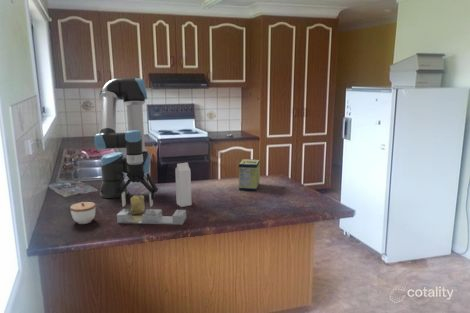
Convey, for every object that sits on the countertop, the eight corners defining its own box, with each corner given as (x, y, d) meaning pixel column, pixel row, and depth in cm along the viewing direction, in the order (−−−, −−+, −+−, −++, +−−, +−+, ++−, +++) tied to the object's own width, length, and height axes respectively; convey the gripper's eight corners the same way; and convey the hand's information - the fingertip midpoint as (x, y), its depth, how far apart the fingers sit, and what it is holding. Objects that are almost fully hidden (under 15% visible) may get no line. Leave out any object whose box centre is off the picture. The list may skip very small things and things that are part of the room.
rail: (117, 223, 173) (116, 214, 172) (123, 216, 180) (123, 208, 180) (182, 224, 170) (182, 216, 170) (186, 218, 178) (186, 209, 177)
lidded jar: (76, 217, 180) (74, 198, 178) (99, 216, 181) (97, 198, 179) (68, 226, 169) (66, 206, 167) (93, 225, 170) (91, 205, 168)
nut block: (131, 214, 184) (130, 198, 182) (134, 210, 189) (133, 195, 187) (141, 214, 183) (140, 198, 182) (144, 210, 188) (143, 195, 187)
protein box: (259, 183, 234) (259, 159, 231) (256, 191, 219) (256, 165, 216) (242, 183, 236) (242, 158, 233) (238, 190, 221) (238, 164, 218)
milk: (191, 205, 196) (190, 163, 191) (180, 207, 193) (179, 165, 188) (187, 201, 201) (186, 161, 197) (176, 203, 198) (174, 162, 194)
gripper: (106, 164, 178) (109, 207, 182) (158, 164, 176) (160, 208, 180) (112, 161, 185) (115, 203, 189) (162, 161, 184) (165, 203, 188)
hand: (137, 205), depth 185 cm, fingers open, 13 cm apart
